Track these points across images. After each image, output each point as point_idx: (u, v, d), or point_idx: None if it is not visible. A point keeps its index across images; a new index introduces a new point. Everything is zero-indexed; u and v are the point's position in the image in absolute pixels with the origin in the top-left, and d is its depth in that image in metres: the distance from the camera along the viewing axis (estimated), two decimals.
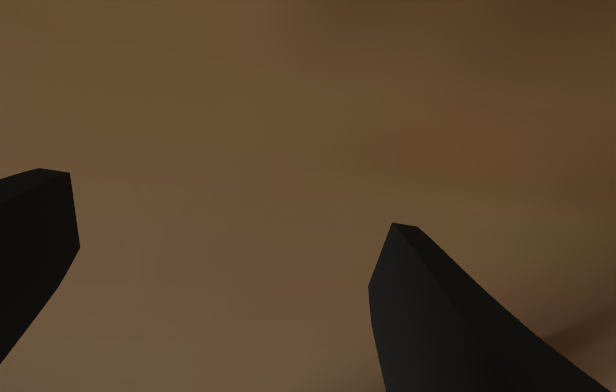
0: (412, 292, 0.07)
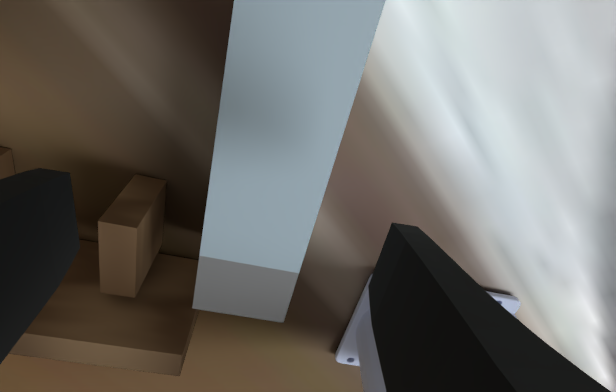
0: (412, 292, 0.07)
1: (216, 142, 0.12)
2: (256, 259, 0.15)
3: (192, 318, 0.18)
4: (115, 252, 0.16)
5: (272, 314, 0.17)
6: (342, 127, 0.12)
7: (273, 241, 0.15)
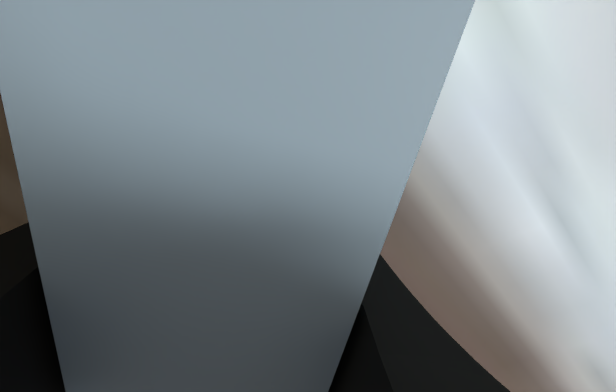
0: None
1: (64, 367, 0.06)
2: None
3: None
4: None
5: None
6: (344, 331, 0.05)
7: None
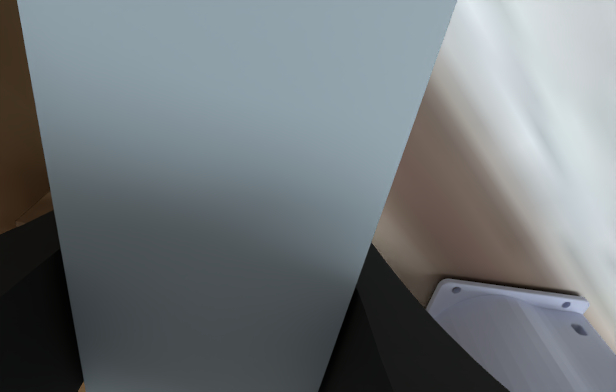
0: None
1: (80, 338, 0.06)
2: None
3: None
4: None
5: None
6: (343, 303, 0.06)
7: None
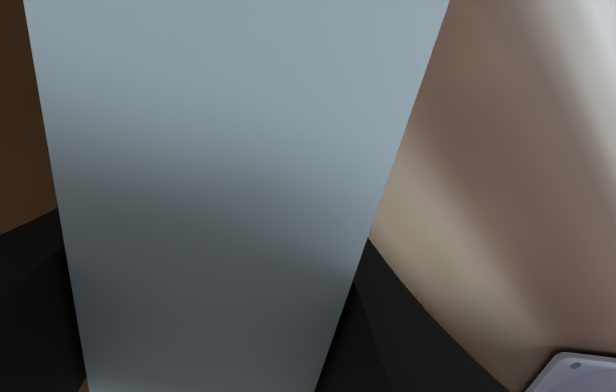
0: None
1: (83, 332, 0.06)
2: None
3: None
4: None
5: None
6: (340, 298, 0.06)
7: None
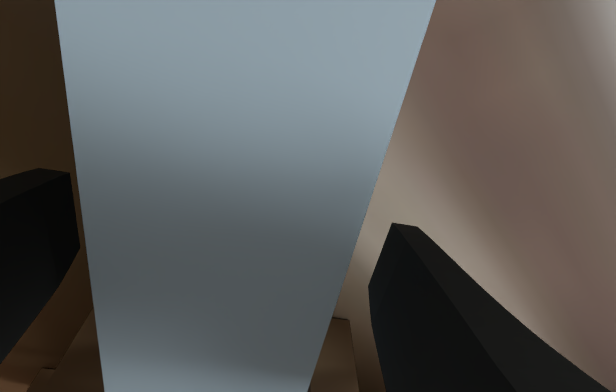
0: (412, 292, 0.07)
1: (97, 310, 0.06)
2: None
3: None
4: None
5: None
6: (339, 276, 0.06)
7: None
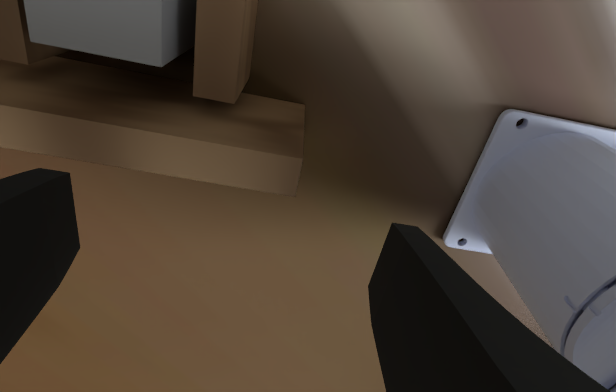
0: (412, 292, 0.07)
1: None
2: None
3: (302, 136, 0.14)
4: (216, 25, 0.12)
5: (142, 50, 0.12)
6: None
7: None
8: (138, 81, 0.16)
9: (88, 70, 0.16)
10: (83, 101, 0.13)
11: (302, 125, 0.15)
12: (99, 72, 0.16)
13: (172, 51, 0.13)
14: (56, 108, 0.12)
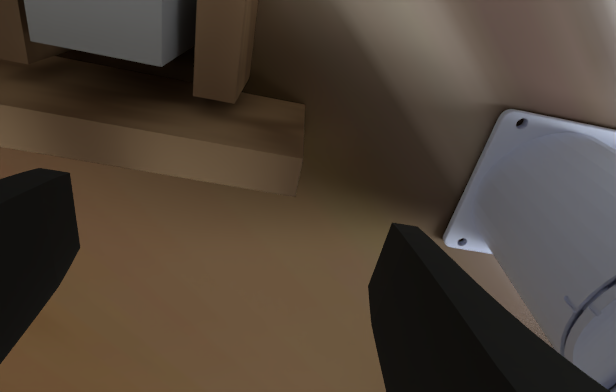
0: (412, 292, 0.07)
1: None
2: None
3: (302, 136, 0.14)
4: (216, 25, 0.12)
5: (143, 50, 0.12)
6: None
7: None
8: (138, 81, 0.16)
9: (89, 70, 0.16)
10: (83, 101, 0.13)
11: (302, 125, 0.15)
12: (99, 72, 0.16)
13: (172, 51, 0.13)
14: (56, 107, 0.12)
